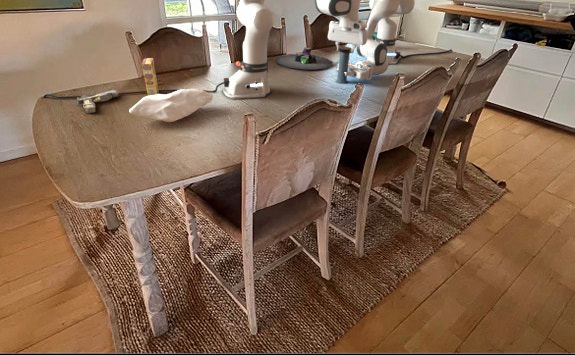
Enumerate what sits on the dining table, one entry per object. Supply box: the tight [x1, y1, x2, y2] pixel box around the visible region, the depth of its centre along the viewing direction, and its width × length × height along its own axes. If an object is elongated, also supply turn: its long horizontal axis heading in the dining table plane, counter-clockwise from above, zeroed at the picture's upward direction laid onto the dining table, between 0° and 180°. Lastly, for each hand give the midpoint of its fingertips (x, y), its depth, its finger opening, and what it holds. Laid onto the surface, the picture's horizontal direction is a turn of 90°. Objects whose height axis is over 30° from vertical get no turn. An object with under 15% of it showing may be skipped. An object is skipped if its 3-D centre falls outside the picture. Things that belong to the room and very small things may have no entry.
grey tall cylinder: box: [336, 51, 351, 84], centre depth 189 cm, size 5×5×17 cm
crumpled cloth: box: [129, 88, 214, 123], centre depth 147 cm, size 24×35×9 cm
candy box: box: [141, 57, 160, 96], centre depth 163 cm, size 9×4×15 cm, turn 13°
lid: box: [338, 46, 352, 54], centre depth 184 cm, size 6×6×2 cm
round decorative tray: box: [275, 46, 334, 71], centre depth 220 cm, size 35×35×9 cm
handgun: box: [76, 89, 120, 114], centre depth 155 cm, size 3×18×15 cm
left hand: (345, 51), depth 185 cm, fingers closed on lid, 6 cm apart
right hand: (341, 72), depth 190 cm, fingers closed on grey tall cylinder, 5 cm apart
